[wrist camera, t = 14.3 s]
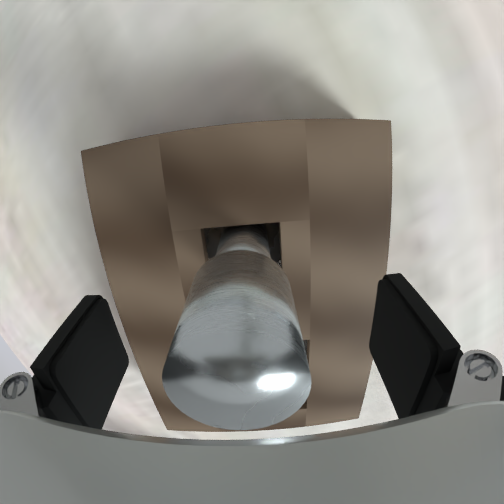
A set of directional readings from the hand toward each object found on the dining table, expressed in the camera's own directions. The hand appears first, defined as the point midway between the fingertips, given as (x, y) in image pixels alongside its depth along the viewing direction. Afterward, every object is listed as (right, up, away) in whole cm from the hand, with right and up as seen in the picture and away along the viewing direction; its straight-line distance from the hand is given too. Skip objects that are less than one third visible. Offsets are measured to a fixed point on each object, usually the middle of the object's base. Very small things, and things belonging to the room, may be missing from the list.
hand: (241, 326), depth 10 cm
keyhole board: (0, 0, +12) cm, 12 cm away
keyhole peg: (0, +4, +11) cm, 11 cm away
